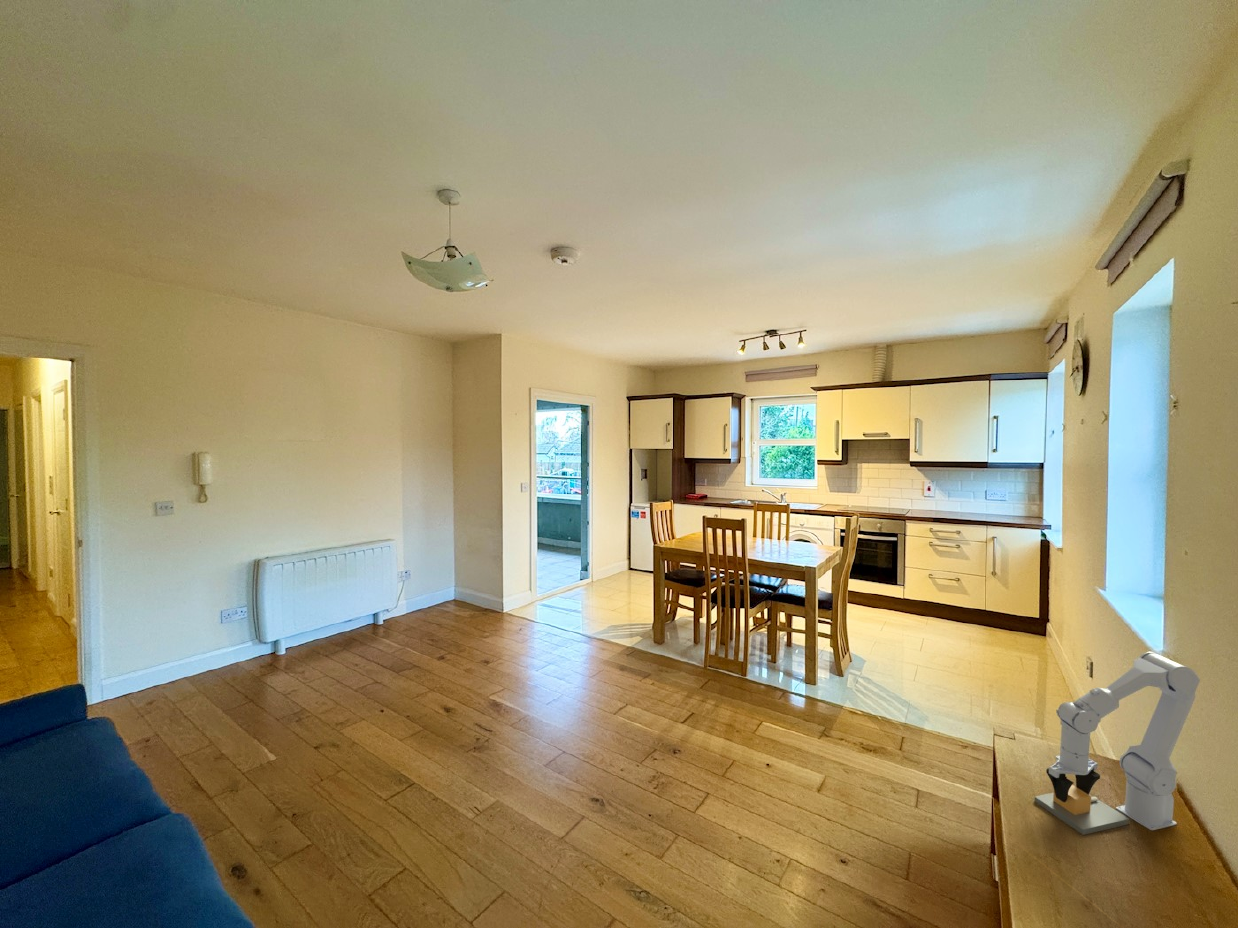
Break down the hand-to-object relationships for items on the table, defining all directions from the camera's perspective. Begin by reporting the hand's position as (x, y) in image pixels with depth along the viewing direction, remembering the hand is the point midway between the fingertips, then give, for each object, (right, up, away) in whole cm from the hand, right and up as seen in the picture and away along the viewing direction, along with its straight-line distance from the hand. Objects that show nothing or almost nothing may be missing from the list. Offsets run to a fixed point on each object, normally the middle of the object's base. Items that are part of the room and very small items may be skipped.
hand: (1071, 797), depth 136 cm
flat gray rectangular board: (+2, -4, 0) cm, 4 cm away
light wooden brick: (0, -2, 0) cm, 2 cm away
